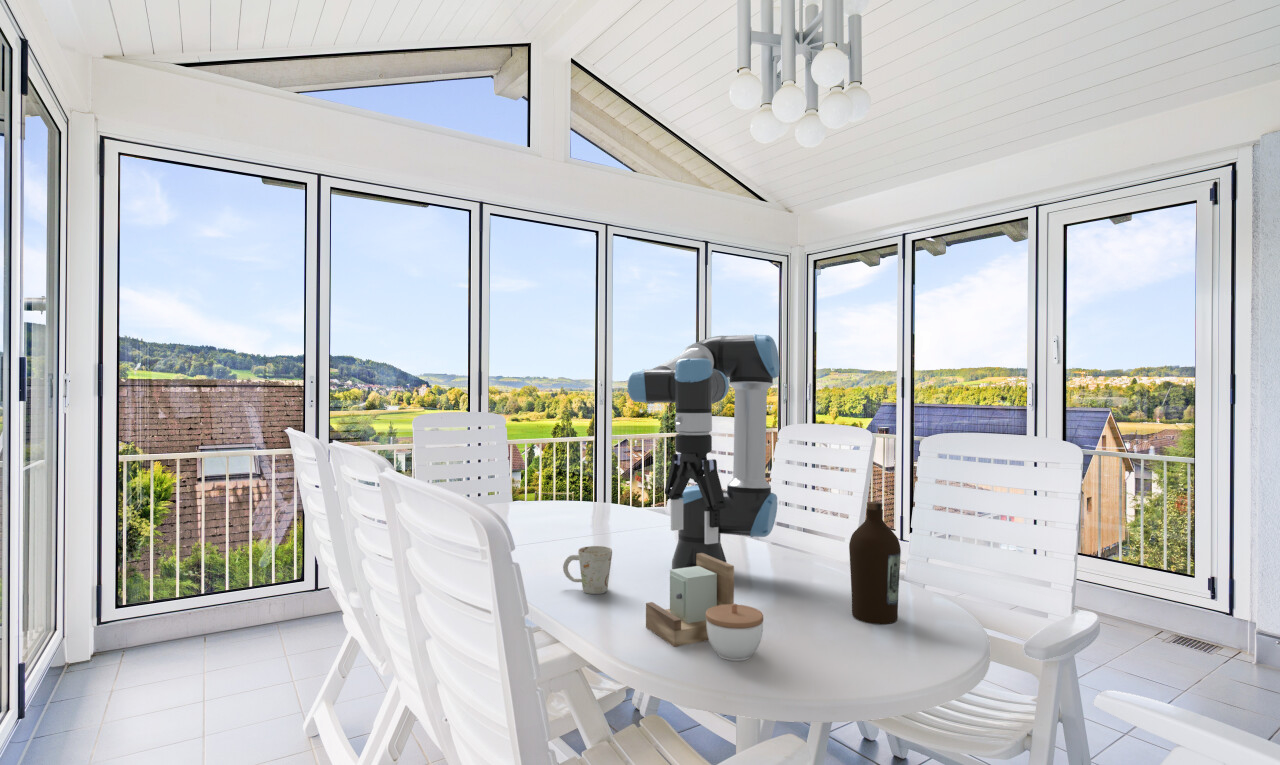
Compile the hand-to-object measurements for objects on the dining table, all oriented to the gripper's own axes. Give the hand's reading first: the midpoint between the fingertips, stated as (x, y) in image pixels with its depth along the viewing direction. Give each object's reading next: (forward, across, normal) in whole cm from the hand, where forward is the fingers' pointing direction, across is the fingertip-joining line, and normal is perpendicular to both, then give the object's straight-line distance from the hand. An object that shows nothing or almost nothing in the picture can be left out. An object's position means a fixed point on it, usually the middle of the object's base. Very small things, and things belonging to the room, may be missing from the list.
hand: (693, 536), depth 138 cm
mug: (+20, -35, -9) cm, 41 cm away
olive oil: (+20, +11, +40) cm, 46 cm away
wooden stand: (+19, 0, -1) cm, 19 cm away
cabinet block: (+16, 0, 0) cm, 16 cm away
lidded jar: (+19, +14, 0) cm, 24 cm away
